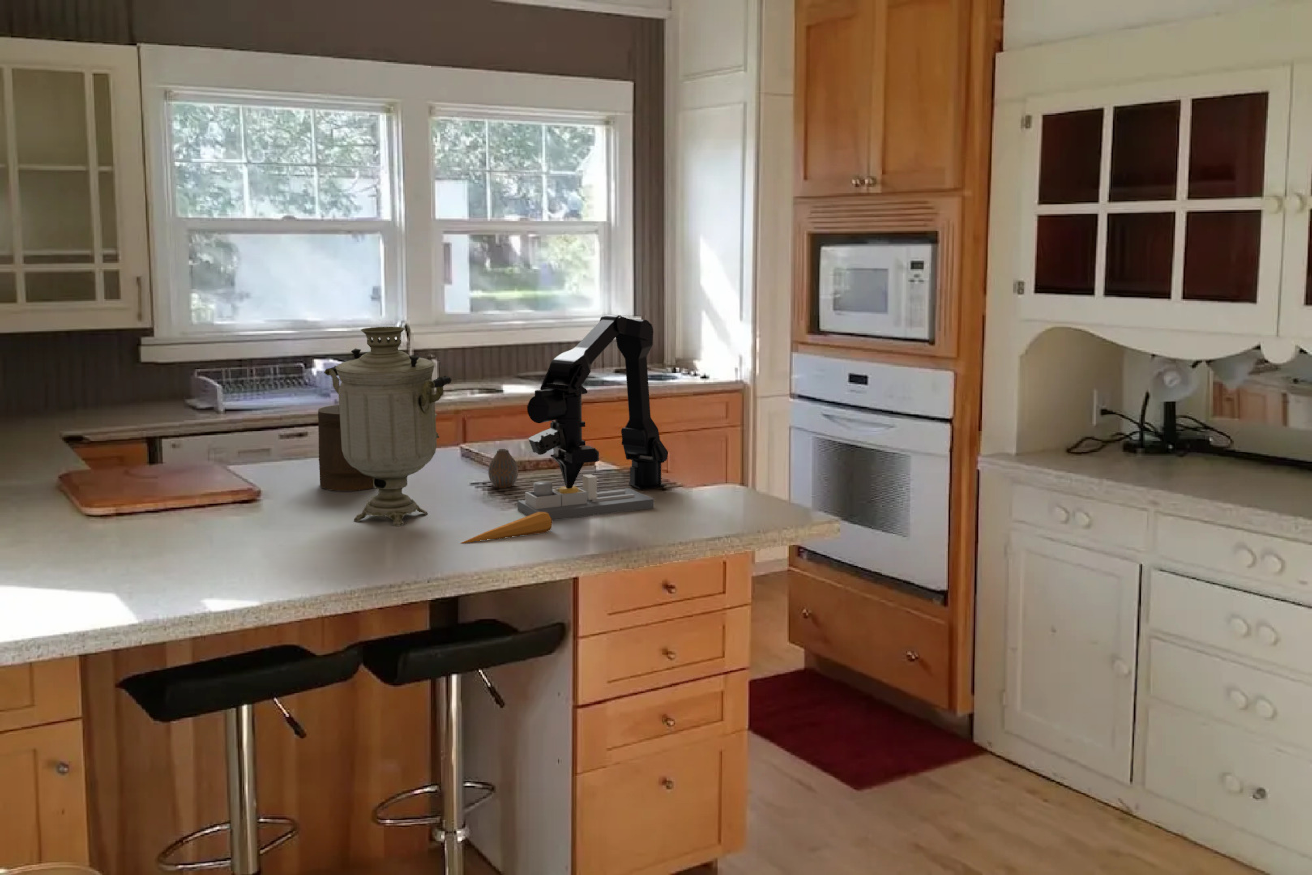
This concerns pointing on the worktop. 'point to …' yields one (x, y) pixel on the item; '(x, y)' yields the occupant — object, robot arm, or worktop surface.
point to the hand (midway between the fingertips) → (569, 488)
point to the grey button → (542, 488)
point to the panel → (584, 503)
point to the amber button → (568, 490)
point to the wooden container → (336, 456)
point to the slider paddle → (590, 486)
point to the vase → (503, 469)
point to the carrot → (518, 527)
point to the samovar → (387, 418)
